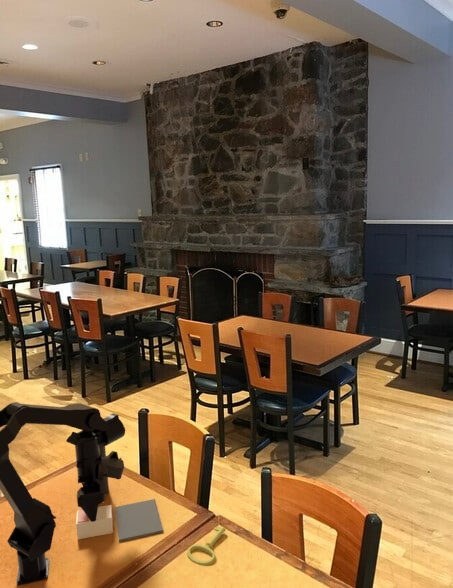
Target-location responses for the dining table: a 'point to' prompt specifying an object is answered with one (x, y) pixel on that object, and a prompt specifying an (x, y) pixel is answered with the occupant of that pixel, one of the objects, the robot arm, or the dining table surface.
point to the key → (206, 548)
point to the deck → (94, 523)
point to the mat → (138, 520)
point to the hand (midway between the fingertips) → (93, 510)
